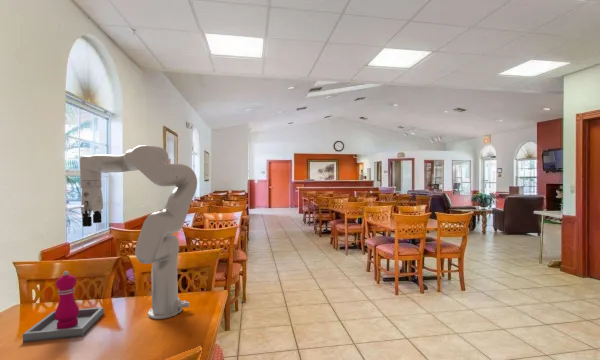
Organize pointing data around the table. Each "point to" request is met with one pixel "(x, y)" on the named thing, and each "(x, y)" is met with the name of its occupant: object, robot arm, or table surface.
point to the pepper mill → (66, 302)
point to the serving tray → (49, 329)
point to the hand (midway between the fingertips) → (92, 224)
